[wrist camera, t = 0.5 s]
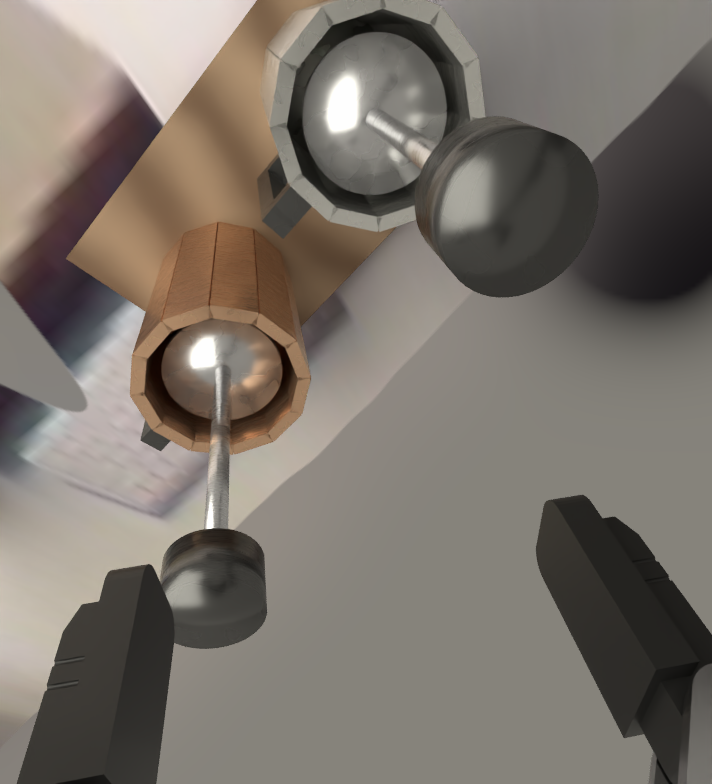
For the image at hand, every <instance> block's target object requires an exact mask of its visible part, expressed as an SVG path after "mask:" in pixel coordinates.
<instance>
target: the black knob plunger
mask: <svg viewBox="0 0 712 784" xmlns="http://www.w3.org/2000/svg"><path fill="white" fill-rule="evenodd" d="M161 372H162V378H163V381H164V385H165V387H166V389H167V391H168V392H169V394H170V395H171V397H172V398H173V399H174V400H175V401H176V402H177V403H178V404H179V405H180V406H181V407H183V408H184V409H186V410H187V411H189V412H191V413H193V414H195V415H198V416H201V417H204V418H208V419H212V422H211V436H210V451H209V465H208V480H207V494H206V509H205V523H204V530H199V531H195V532H192V533H189V534H187V535H185V536H183V537H181V538H180V539H178V540H176V541H175V542H174V543H173V544H172V545H171V546H170V547H169V548H168V550H167V551H166V553H165V555H164V557H163V562H162V569H161V576H160V583H161V586H162V588H163V590H164V593H165V595H166V597H167V599H168V602H169V604H170V606H171V609H172V612H173V617H174V628H175V636H174V643H176V644H179V645H182V646H187V647H191V648H200V649H207V648H208V649H209V648H219V647H224V646H229V645H232V644H235V643H238V642H240V641H242V640H244V639H246V638H248V637H249V636H251V635H252V634H254V633H255V632H256V631H257V630H258V629H259V628H260V627H261V626H262V624H263V623H264V621H265V618H266V615H267V604H266V583H265V561H264V553H263V551H262V548H261V547H260V546H259V544H258V543H257V542H256V541H255V540H254V539H252V538H251V537H249V536H247V535H246V534H244V533H241V532H238V531H235V530H230V529H228V502H229V457H230V420H233V419H239V418H242V417H246V416H248V415H251V414H253V413H255V412H257V411H259V410H260V409H261V408H263V407H264V406H265V405H266V404H268V403H269V402H270V400H271V399H272V398H273V397H274V395H275V394H276V392H277V390H278V388H279V386H280V382H281V378H282V363H281V357H280V353H279V350H278V348H277V346H276V344H275V342H274V341H273V339H272V338H271V337H270V336H269V335H267V334H266V333H265V332H263V331H262V330H260V329H259V328H258V327H256V326H255V325H253V324H247V323H240V322H234V321H227V320H221V319H214V318H210V319H207V320H204V321H201V322H198V323H195V324H192V325H189V326H186V327H183V328H180V329H179V330H178V331H177V332H176V333H175V334H174V335H173V336H172V337H171V339H170V340H169V342H168V344H167V346H166V348H165V351H164V355H163V359H162V371H161Z"/></svg>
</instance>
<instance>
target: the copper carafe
mask: <svg viewBox="0 0 712 784" xmlns="http://www.w3.org/2000/svg"><path fill="white" fill-rule="evenodd" d="M210 318H214V319H221V320H227V321H234V322H240V323H247V324H253V325H255V326H256V327H258V328H259V329H260V330H262V331H263V332H265V333H266V334H267V335H269V336H270V337H271V338H272V339H273V341H274V342H275V344H276V346H277V348H278V350H279V353H280V357H281V363H282V378H281V382H280V386H279V388H278V390H277V392H276V394H275V395H274V397H273V398H272V399H271V400H270V402H269V403H268V404H266V405H265V406H264V407H263V408H261V409H260V410H259V411H257V412H255V413H253V414H251V415H248V416H246V417H242V418H239V419H233V420H230V454H231V455H233V453H234V454H238V453H241V452H244V451H247V450H250V449H253V448H256V447H259V446H262V445H265V444H268V443H271V442H273V441H275V440H276V439H277V438H278V437H279V436H280V435H281V434H282V433H283V432H284V431H285V430H286V429H287V428H288V427H289V426H290V425H292V424H293V423H294V422H295V421H296V420H297V419H298V418H299V417H300V416H301V414H302V412H303V408H304V404H305V400H306V396H307V392H308V388H309V384H310V380H311V376H310V371H309V366H308V361H307V356H306V351H305V346H304V341H303V336H302V331H301V326H300V321H299V316H298V311H297V306H296V301H295V297H294V292H293V287H292V282H291V278H290V276H289V273H288V270H287V268H286V265H285V262H284V259H283V257H282V254H281V252H280V250H279V249H277V248H276V247H275V246H274V245H273V244H272V243H270V242H269V241H268V240H267V239H266V238H264V237H263V236H262V235H261V234H260V233H258V232H257V231H256V230H255V229H254V230H253V228H249V227H244V226H239V225H234V224H229V223H224V222H214V223H211V224H208V225H205V226H202V227H199V228H196V229H193V230H190V231H187V232H185V233H183V235H182V236H181V237H180V238H179V240H178V241H177V242H176V243H175V244H174V246H173V247H172V248H171V249H170V251H169V252H168V253H167V254H166V256H165V257H164V258H163V261H162V264H161V267H160V270H159V273H158V277H157V280H156V283H155V286H154V289H153V292H152V295H151V298H150V301H149V305H148V308H147V311H146V314H145V317H144V320H143V323H142V326H141V329H140V333H139V336H138V339H137V342H136V345H135V348H134V351H133V354H132V366H131V384H130V396H131V398H132V400H133V401H134V403H135V404H136V406H137V407H138V409H139V411H140V412H141V414H142V415H143V417H144V418H145V423H144V428H143V432H142V436H141V441H142V442H144V443H146V444H148V445H150V446H152V447H154V448H156V449H158V450H159V451H161V450H162V449H163V448H164V447H165V446H166V445H167V444H168V443H169V442H170V441H173V442H175V443H176V444H178V445H180V446H182V447H184V448H185V449H187V450H190V449H191V451H196V452H208V453H209V451H210V436H211V422H212V419H208V418H204V417H201V416H198V415H195V414H193V413H191V412H189V411H187V410H186V409H184V408H183V407H181V406H180V405H179V404H178V403H177V402H176V401H175V400H174V399H173V398H172V397H171V395H170V394H169V392H168V391H167V389H166V387H165V385H164V381H163V378H162V372H161V371H162V359H163V355H164V351H165V348H166V346H167V344H168V342H169V340H170V339H171V337H172V336H173V335H174V334H175V333H176V332H177V331H178V330H179V329H180V328H183V327H186V326H189V325H192V324H195V323H198V322H201V321H204V320H207V319H210Z"/></svg>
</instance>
